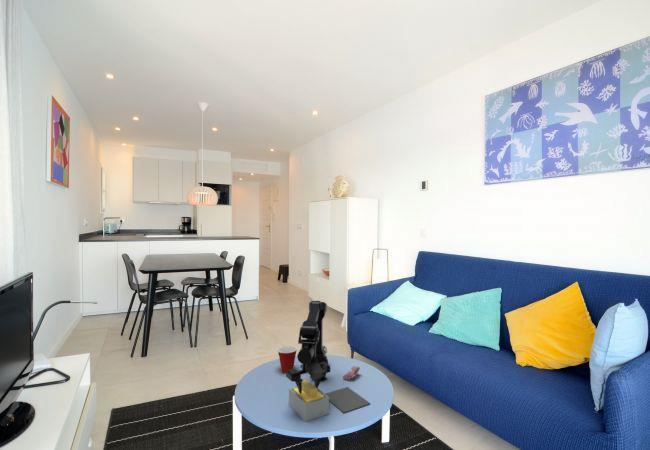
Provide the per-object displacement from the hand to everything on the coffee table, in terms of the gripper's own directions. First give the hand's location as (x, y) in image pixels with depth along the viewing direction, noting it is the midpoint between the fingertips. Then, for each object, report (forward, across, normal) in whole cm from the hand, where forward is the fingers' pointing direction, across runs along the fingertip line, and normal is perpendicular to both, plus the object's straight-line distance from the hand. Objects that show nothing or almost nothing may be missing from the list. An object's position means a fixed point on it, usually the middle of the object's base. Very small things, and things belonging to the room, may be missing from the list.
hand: (308, 391), depth 142 cm
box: (+8, 0, 0) cm, 8 cm away
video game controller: (+8, +34, +15) cm, 37 cm away
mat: (+8, +18, -2) cm, 20 cm away
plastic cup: (+8, +8, +38) cm, 40 cm away
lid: (+2, 0, 0) cm, 2 cm away
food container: (+8, +27, +34) cm, 44 cm away
